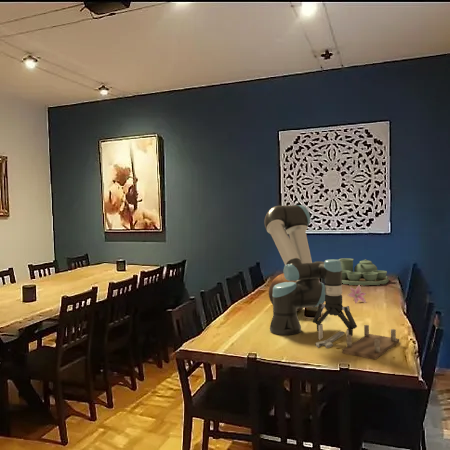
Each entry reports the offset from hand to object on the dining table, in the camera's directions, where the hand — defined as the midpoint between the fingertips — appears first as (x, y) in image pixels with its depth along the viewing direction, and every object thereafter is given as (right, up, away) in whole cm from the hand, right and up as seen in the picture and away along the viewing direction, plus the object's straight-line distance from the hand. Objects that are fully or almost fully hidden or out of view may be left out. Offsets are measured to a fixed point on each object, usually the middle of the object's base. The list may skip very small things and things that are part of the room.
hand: (334, 341), depth 207 cm
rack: (+14, 0, -10) cm, 17 cm away
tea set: (+55, +8, +146) cm, 156 cm away
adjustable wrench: (0, -1, +1) cm, 1 cm away
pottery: (-12, +2, +58) cm, 59 cm away
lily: (+32, +4, +77) cm, 84 cm away
